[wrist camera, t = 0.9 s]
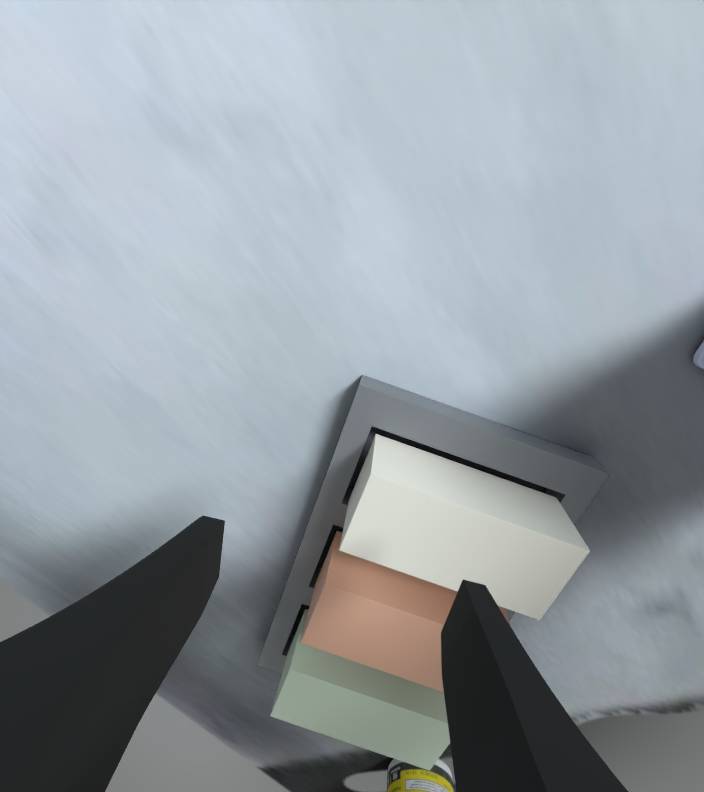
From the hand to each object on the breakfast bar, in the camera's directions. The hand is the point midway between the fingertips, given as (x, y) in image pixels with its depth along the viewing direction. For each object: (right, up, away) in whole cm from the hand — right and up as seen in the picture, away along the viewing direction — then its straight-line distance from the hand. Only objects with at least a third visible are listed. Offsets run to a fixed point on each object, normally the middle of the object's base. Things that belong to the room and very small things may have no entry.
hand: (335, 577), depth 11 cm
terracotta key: (+3, -5, +11) cm, 12 cm away
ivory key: (+5, 0, +8) cm, 10 cm away
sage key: (+1, -11, +13) cm, 17 cm away
